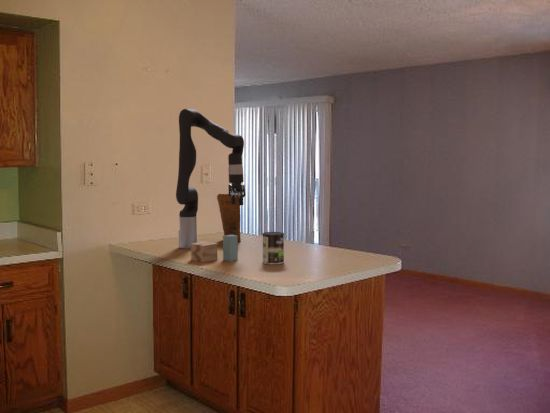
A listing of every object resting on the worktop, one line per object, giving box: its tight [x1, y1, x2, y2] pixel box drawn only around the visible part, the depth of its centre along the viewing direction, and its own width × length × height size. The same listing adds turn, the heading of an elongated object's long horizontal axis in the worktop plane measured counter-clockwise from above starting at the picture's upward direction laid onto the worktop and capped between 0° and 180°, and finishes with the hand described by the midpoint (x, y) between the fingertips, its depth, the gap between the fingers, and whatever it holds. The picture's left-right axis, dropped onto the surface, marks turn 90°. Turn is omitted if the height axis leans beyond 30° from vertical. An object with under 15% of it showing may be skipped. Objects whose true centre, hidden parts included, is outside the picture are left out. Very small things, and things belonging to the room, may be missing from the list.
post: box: [222, 234, 239, 262], centre depth 276 cm, size 5×5×12 cm
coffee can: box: [261, 231, 285, 265], centre depth 269 cm, size 10×10×14 cm
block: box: [190, 241, 218, 263], centre depth 277 cm, size 9×9×8 cm
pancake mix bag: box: [216, 193, 242, 243], centre depth 335 cm, size 7×19×28 cm, turn 43°
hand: (237, 204), depth 294 cm, fingers open, 8 cm apart
